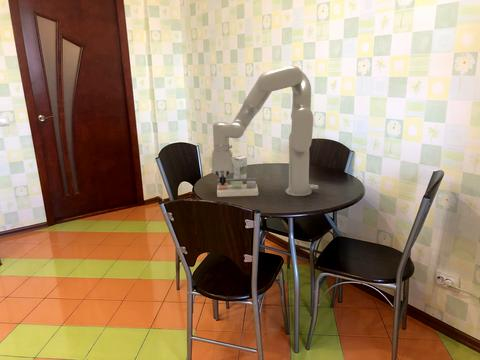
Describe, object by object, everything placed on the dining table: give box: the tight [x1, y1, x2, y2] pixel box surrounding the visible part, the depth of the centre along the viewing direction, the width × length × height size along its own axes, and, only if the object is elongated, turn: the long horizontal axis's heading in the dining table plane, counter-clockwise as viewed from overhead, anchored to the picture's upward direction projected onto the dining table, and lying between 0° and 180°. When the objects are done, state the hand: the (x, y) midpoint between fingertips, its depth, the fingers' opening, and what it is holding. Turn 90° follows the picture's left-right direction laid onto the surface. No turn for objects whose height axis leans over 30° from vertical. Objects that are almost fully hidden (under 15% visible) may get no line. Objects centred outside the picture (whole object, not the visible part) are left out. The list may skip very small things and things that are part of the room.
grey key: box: [246, 180, 257, 186], centre depth 188 cm, size 5×5×2 cm
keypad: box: [216, 177, 259, 198], centre depth 189 cm, size 20×14×5 cm
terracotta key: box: [218, 183, 228, 189], centre depth 187 cm, size 5×5×2 cm
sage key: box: [232, 181, 242, 187], centre depth 187 cm, size 5×5×2 cm
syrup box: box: [232, 155, 248, 179], centre depth 204 cm, size 6×6×14 cm
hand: (222, 184), depth 187 cm, fingers closed
